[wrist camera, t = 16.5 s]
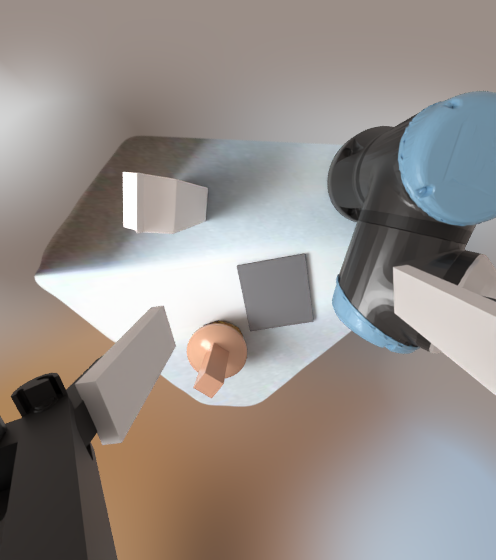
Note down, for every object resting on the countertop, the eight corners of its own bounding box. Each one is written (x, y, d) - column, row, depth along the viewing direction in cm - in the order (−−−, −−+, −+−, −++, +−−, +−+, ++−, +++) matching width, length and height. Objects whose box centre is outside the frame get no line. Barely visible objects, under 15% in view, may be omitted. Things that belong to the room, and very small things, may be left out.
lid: (258, 344, 50) (259, 379, 40) (226, 384, 53) (219, 426, 43) (208, 312, 48) (196, 340, 38) (177, 355, 51) (159, 392, 41)
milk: (208, 187, 46) (169, 175, 25) (205, 222, 48) (166, 238, 26) (174, 183, 46) (106, 166, 25) (173, 217, 47) (107, 230, 26)
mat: (304, 253, 49) (304, 254, 48) (312, 319, 53) (313, 321, 52) (237, 265, 50) (236, 266, 49) (250, 329, 54) (250, 331, 53)
